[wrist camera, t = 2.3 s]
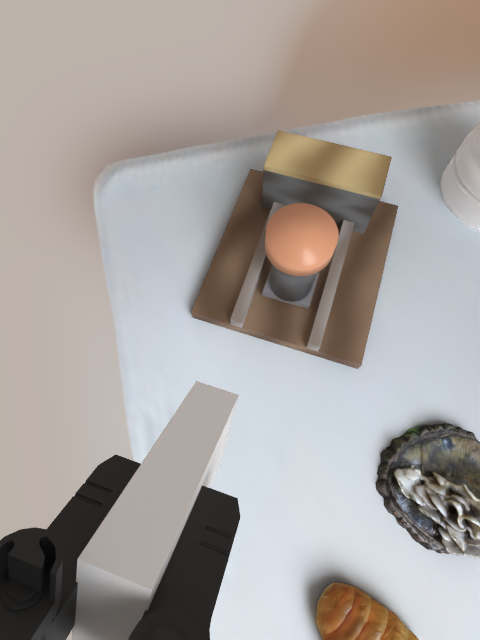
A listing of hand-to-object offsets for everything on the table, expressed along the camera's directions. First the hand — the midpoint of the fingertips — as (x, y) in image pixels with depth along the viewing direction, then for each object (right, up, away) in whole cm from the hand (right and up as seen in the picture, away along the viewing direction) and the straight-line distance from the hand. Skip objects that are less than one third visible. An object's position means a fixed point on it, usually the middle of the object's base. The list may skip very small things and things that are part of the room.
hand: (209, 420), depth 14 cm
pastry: (+11, -23, +18) cm, 32 cm away
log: (+20, -12, +23) cm, 32 cm away
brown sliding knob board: (+8, +10, +31) cm, 34 cm away
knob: (+6, +7, +28) cm, 30 cm away
